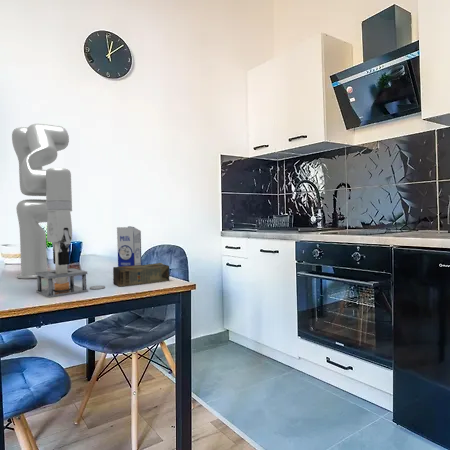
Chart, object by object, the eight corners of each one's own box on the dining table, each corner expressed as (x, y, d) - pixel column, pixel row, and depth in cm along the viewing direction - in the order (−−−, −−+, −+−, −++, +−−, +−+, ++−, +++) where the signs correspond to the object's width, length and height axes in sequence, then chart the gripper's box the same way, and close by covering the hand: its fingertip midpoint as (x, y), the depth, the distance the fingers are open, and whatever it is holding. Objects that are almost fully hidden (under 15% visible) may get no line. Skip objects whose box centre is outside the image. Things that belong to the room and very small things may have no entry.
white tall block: (54, 283, 122) (52, 233, 122) (65, 281, 125) (64, 233, 124) (58, 284, 120) (56, 233, 119) (69, 282, 122) (68, 233, 122)
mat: (86, 288, 127) (86, 287, 127) (101, 286, 131) (101, 285, 131) (93, 290, 124) (93, 289, 124) (107, 288, 127) (107, 286, 127)
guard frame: (36, 292, 123) (35, 272, 123) (73, 286, 131) (72, 268, 131) (49, 297, 114) (48, 276, 114) (88, 291, 122) (87, 271, 122)
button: (52, 289, 122) (52, 283, 122) (66, 287, 125) (66, 281, 125) (57, 291, 119) (57, 284, 119) (71, 288, 122) (71, 282, 122)
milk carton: (117, 278, 148) (116, 226, 147) (126, 275, 154) (125, 226, 154) (134, 278, 146) (133, 226, 145) (142, 275, 153) (141, 225, 152)
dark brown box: (170, 281, 139) (170, 263, 139) (119, 288, 128) (118, 268, 128) (161, 278, 146) (161, 261, 145) (111, 284, 135) (111, 266, 135)
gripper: (38, 207, 125) (40, 263, 126) (56, 206, 113) (58, 267, 113) (61, 207, 130) (63, 261, 131) (81, 206, 118) (83, 264, 119)
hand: (61, 263), depth 122 cm, fingers closed on white tall block, 3 cm apart
